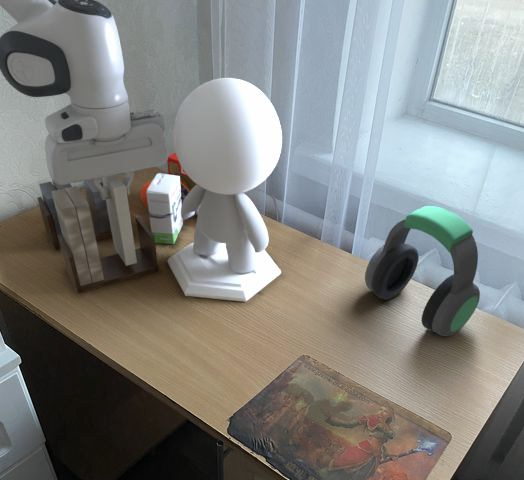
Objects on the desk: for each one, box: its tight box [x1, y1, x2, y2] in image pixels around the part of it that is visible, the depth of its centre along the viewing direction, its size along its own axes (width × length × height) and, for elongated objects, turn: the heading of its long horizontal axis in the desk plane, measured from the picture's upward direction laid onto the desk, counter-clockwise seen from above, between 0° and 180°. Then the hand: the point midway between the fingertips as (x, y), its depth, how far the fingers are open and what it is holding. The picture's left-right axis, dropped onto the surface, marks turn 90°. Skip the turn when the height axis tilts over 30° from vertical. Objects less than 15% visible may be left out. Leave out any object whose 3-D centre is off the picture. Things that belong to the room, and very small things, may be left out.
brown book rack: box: [51, 185, 159, 294], centre depth 100 cm, size 16×8×17 cm, turn 120°
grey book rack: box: [36, 177, 113, 251], centre depth 111 cm, size 16×8×12 cm, turn 120°
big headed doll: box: [167, 77, 283, 303], centre depth 95 cm, size 20×23×35 cm
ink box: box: [146, 172, 184, 245], centre depth 112 cm, size 9×5×12 cm, turn 173°
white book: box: [102, 174, 137, 266], centre depth 99 cm, size 2×7×16 cm, turn 30°
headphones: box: [364, 205, 481, 337], centre depth 93 cm, size 19×11×20 cm, turn 40°
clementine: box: [140, 177, 155, 209], centre depth 121 cm, size 8×7×7 cm
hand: (115, 196), depth 96 cm, fingers closed on white book, 2 cm apart
